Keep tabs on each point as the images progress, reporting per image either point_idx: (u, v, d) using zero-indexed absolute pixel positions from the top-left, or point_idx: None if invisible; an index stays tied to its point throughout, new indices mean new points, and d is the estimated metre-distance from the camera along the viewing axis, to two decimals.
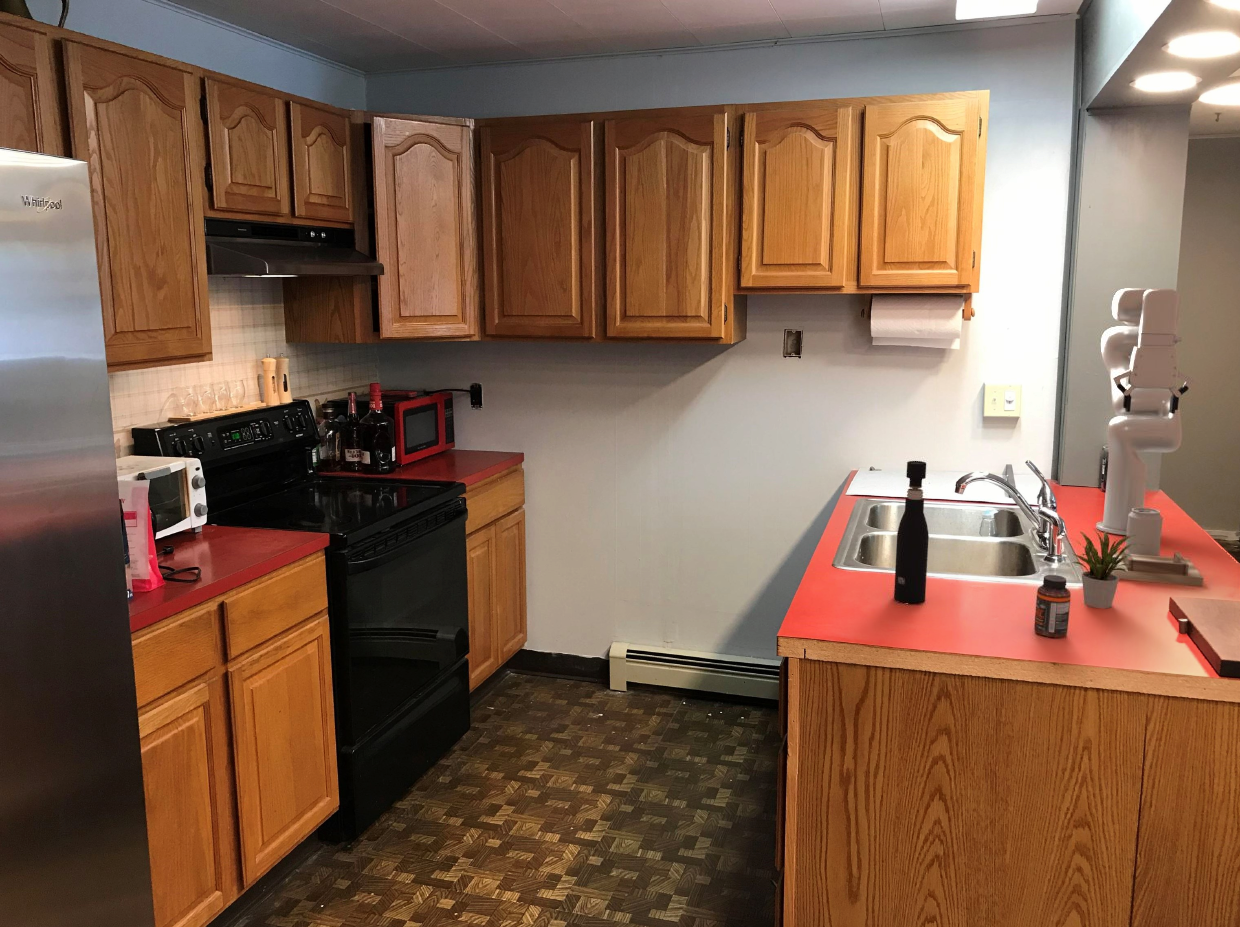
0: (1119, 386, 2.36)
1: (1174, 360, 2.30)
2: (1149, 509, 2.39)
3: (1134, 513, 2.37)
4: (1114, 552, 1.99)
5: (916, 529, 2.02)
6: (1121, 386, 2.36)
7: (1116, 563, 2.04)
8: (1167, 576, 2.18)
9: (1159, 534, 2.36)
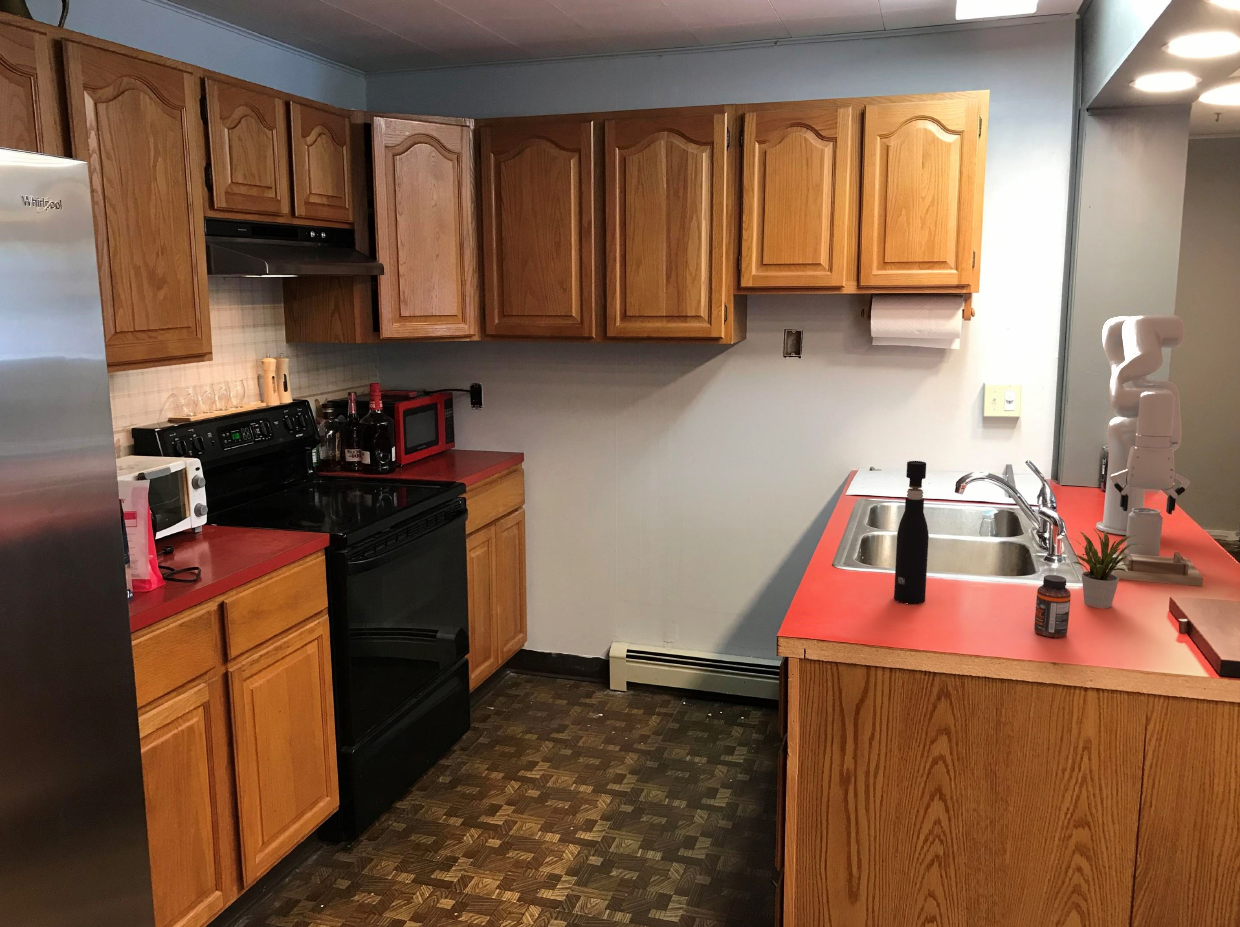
0: (1116, 485, 2.37)
1: (1171, 462, 2.32)
2: (1149, 509, 2.39)
3: (1134, 513, 2.37)
4: (1114, 552, 1.99)
5: (916, 529, 2.02)
6: (1118, 485, 2.37)
7: (1116, 563, 2.04)
8: (1167, 576, 2.18)
9: (1159, 534, 2.36)
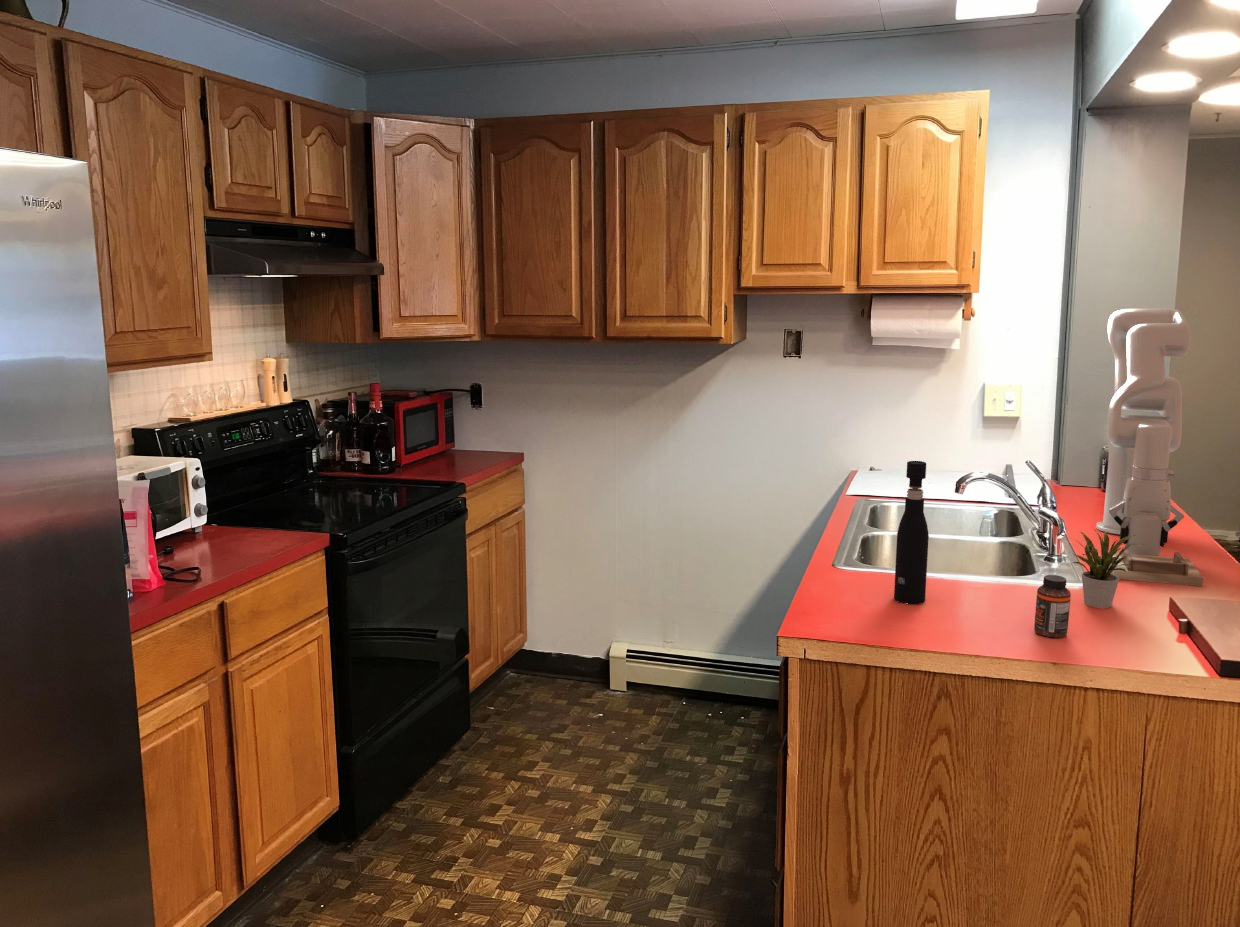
0: (1116, 518, 2.39)
1: (1167, 494, 2.33)
2: None
3: None
4: (1114, 552, 1.99)
5: (916, 529, 2.02)
6: (1118, 518, 2.39)
7: (1116, 563, 2.04)
8: (1167, 576, 2.18)
9: (1159, 534, 2.36)
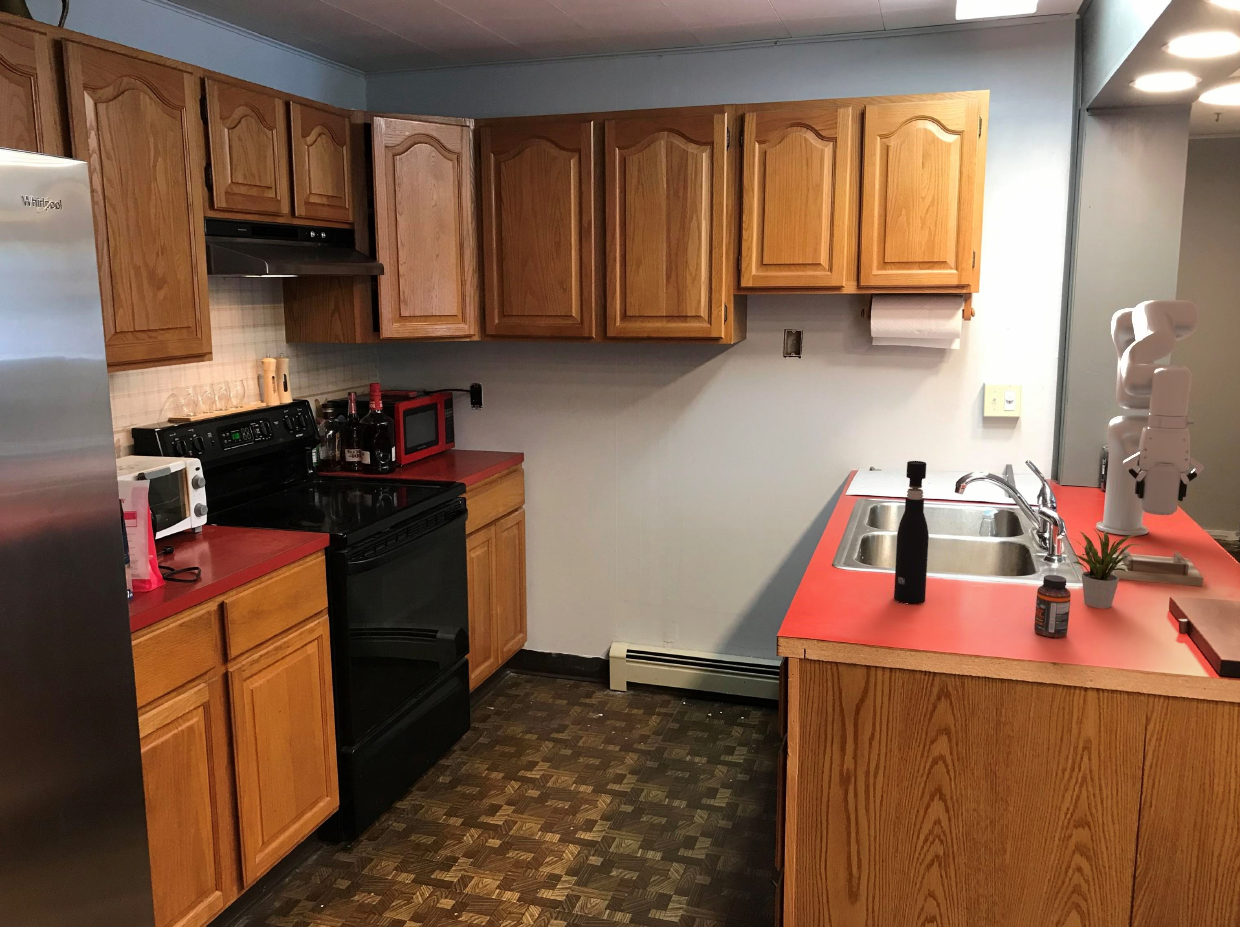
0: (1131, 471, 2.23)
1: (1186, 443, 2.17)
2: None
3: None
4: (1114, 552, 1.99)
5: (916, 529, 2.02)
6: (1133, 471, 2.22)
7: (1116, 563, 2.04)
8: (1167, 576, 2.18)
9: (1177, 487, 2.19)
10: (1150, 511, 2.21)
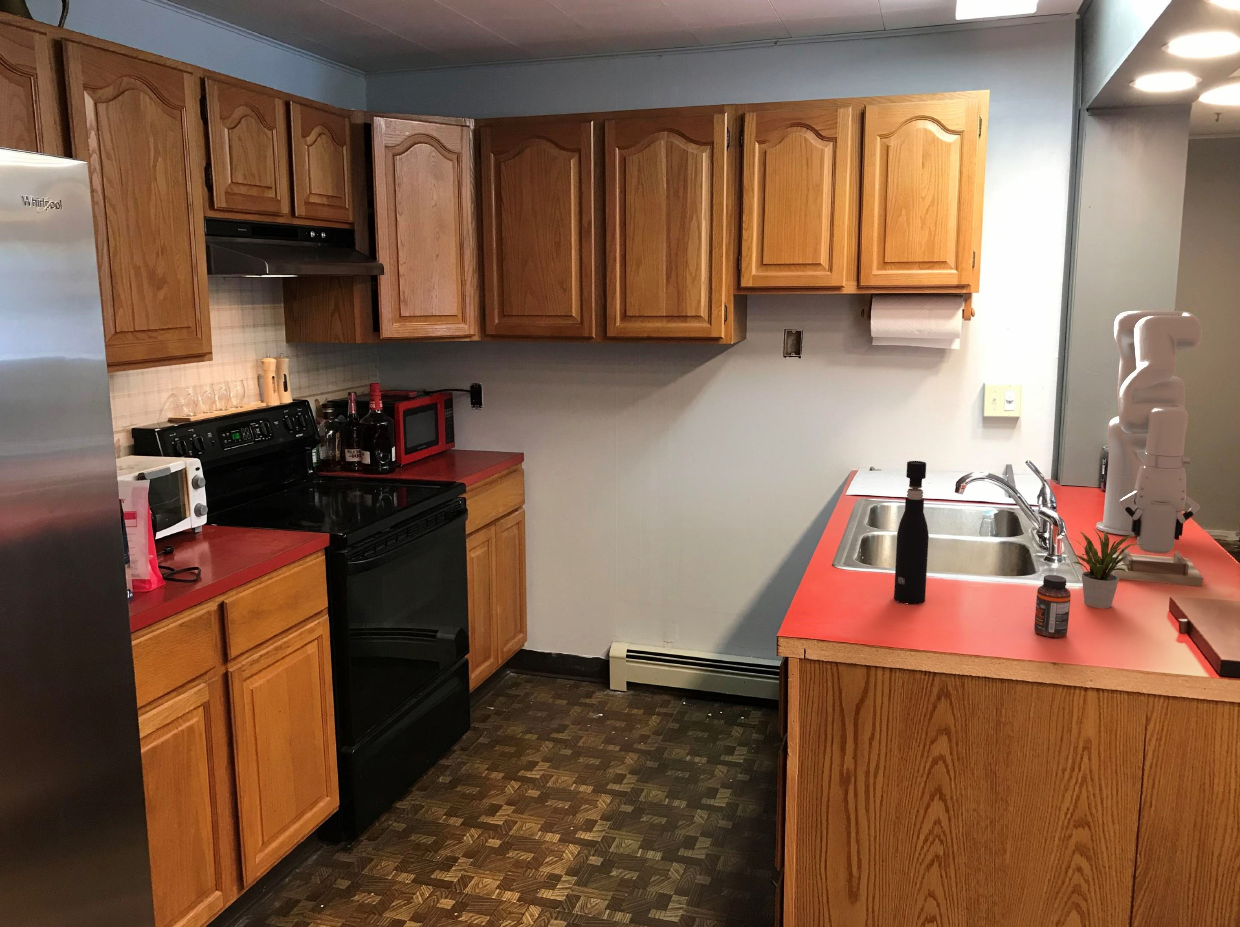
0: (1127, 509, 2.24)
1: (1182, 483, 2.18)
2: None
3: None
4: (1114, 552, 1.99)
5: (915, 529, 2.02)
6: (1130, 509, 2.24)
7: (1116, 563, 2.04)
8: (1167, 576, 2.18)
9: (1174, 526, 2.20)
10: (1146, 549, 2.22)
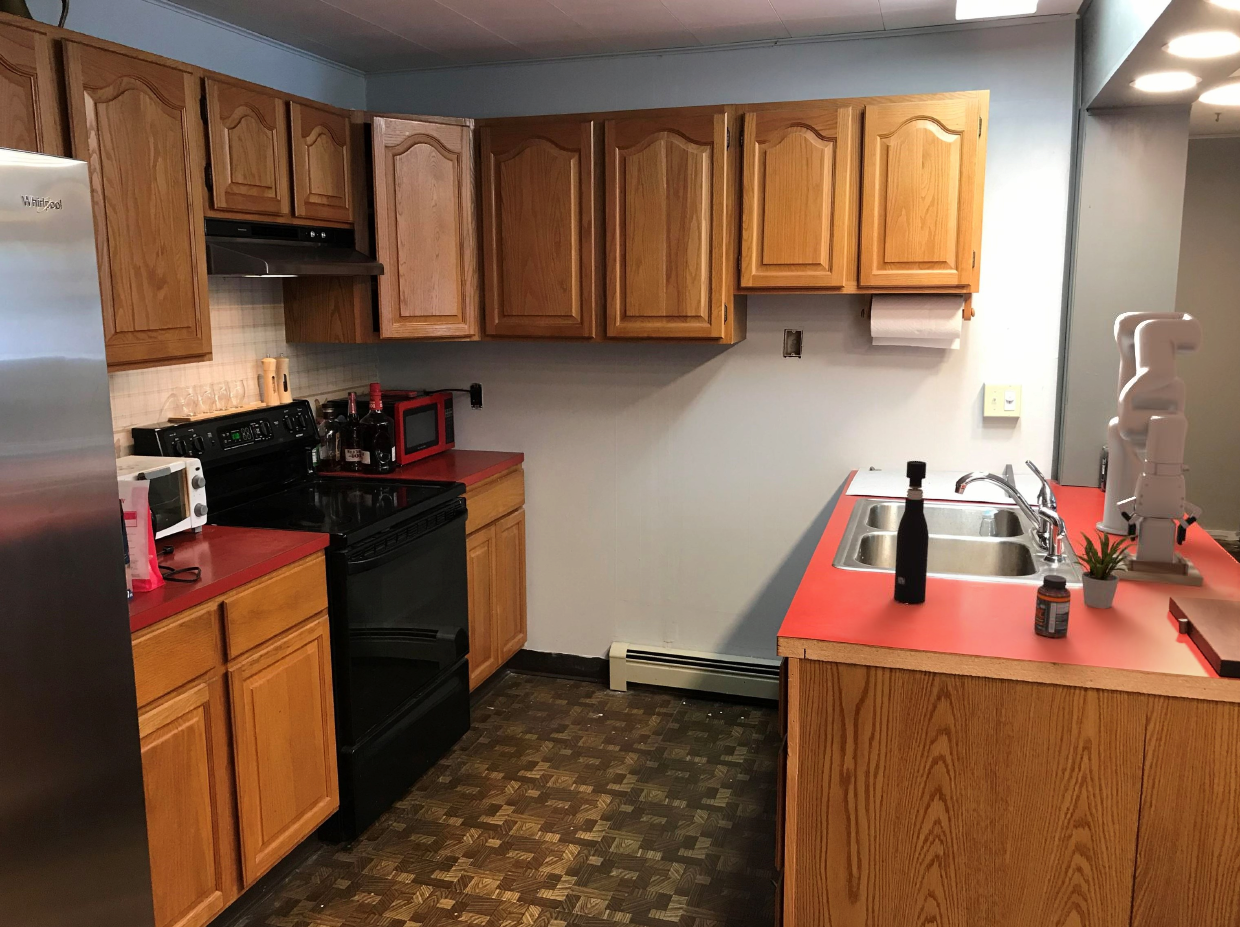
0: (1123, 514, 2.24)
1: (1182, 490, 2.18)
2: None
3: (1145, 519, 2.23)
4: (1114, 552, 1.99)
5: (915, 529, 2.02)
6: (1125, 514, 2.24)
7: (1116, 563, 2.04)
8: (1167, 576, 2.18)
9: (1172, 542, 2.21)
10: None
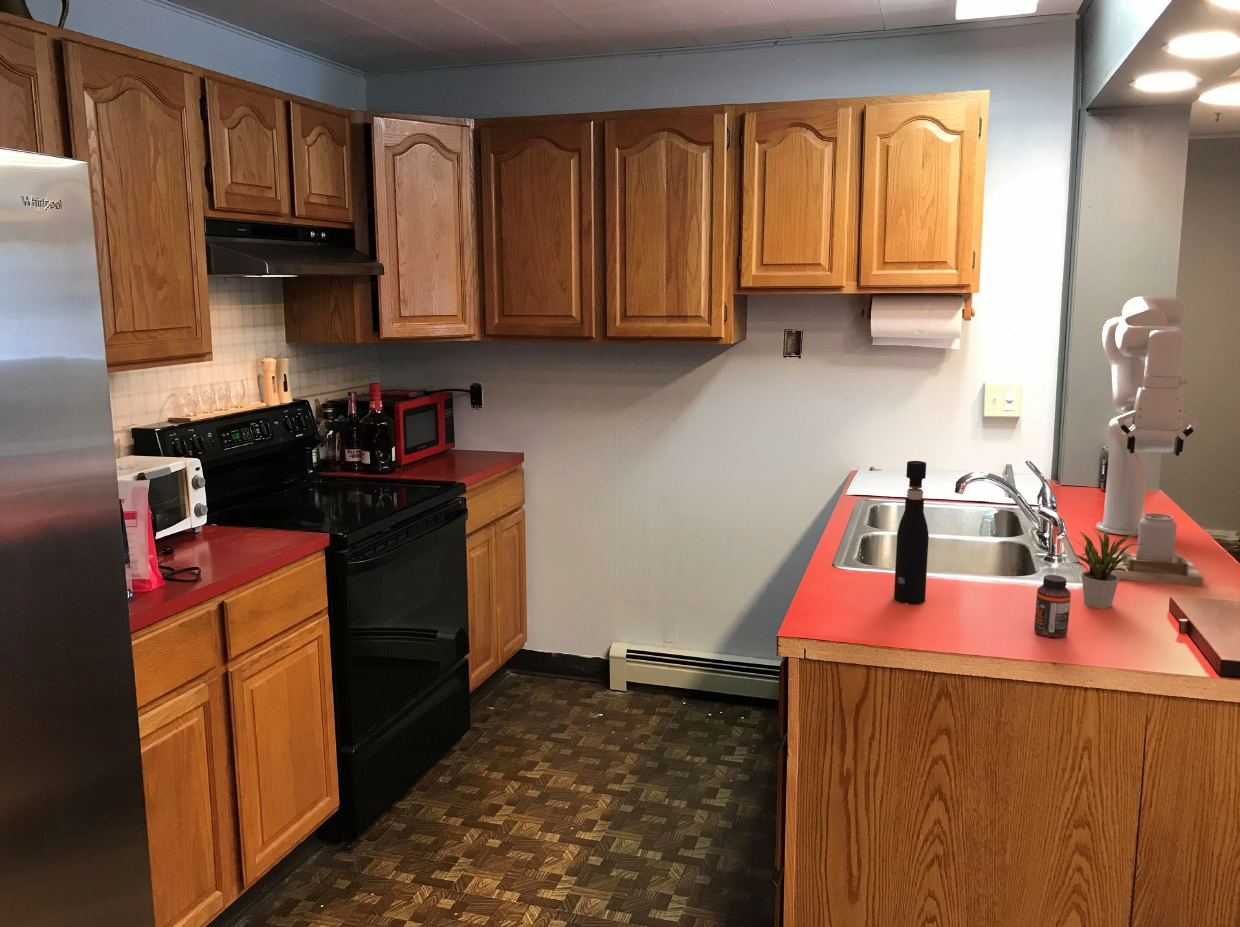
0: (1123, 427, 2.33)
1: (1179, 403, 2.26)
2: (1162, 515, 2.25)
3: (1145, 519, 2.23)
4: (1114, 552, 1.99)
5: (915, 529, 2.02)
6: (1125, 427, 2.32)
7: (1116, 563, 2.04)
8: (1167, 576, 2.18)
9: (1172, 542, 2.21)
10: None
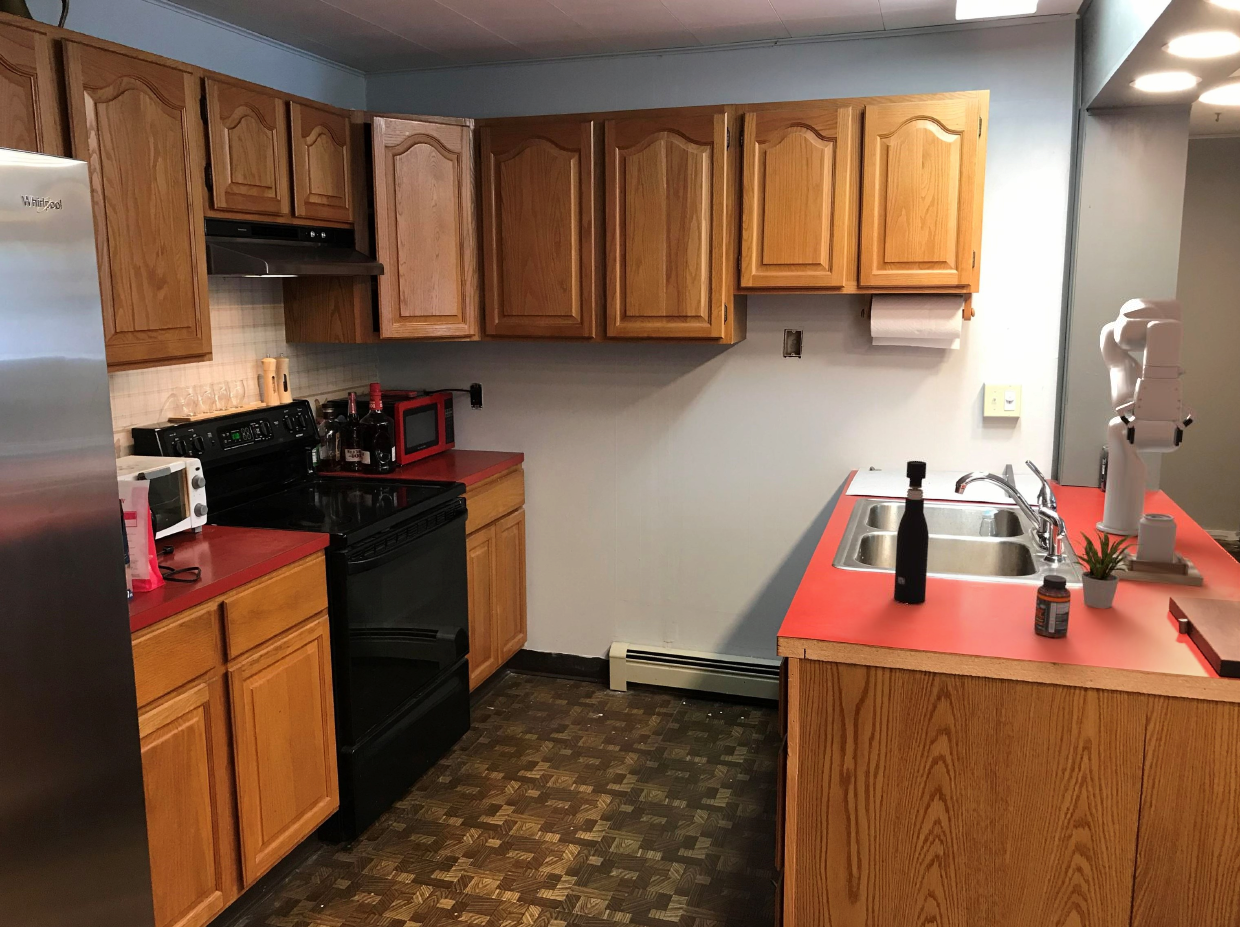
0: (1123, 418, 2.34)
1: (1178, 393, 2.28)
2: (1162, 515, 2.25)
3: (1145, 519, 2.23)
4: (1114, 552, 1.99)
5: (916, 529, 2.02)
6: (1125, 418, 2.34)
7: (1116, 563, 2.04)
8: (1167, 576, 2.18)
9: (1172, 542, 2.21)
10: None
